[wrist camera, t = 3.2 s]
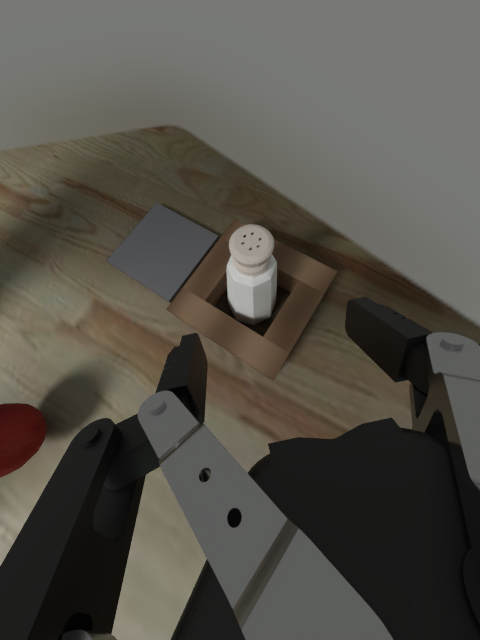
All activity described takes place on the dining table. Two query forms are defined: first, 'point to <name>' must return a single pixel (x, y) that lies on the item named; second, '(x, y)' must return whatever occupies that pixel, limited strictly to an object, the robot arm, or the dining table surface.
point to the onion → (19, 435)
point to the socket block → (259, 352)
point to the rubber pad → (163, 251)
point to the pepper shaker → (251, 274)
